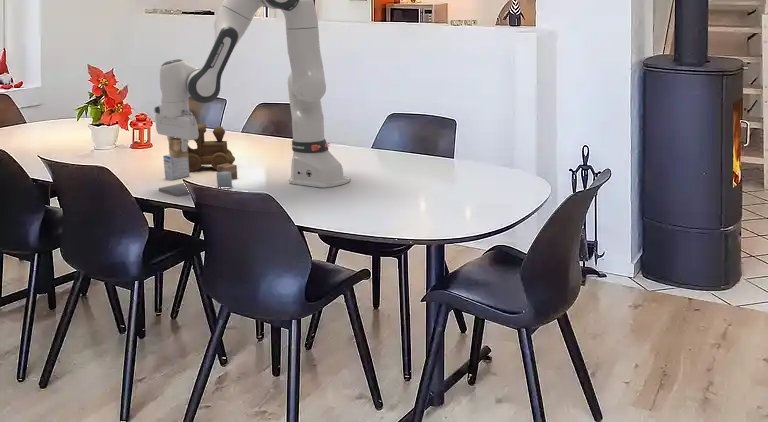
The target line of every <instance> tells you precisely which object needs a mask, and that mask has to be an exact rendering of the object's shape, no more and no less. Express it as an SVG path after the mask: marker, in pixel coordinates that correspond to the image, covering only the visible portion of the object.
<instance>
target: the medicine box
mask: <svg viewBox="0 0 768 422" xmlns="http://www.w3.org/2000/svg"><path fill="white" fill-rule="evenodd" d="M163 168H164V169H163V170H164V178H165V179H166V180H170V181H175V180H178V179H183V178H187V177H190V171H189V161H188V157H182V158H173V157H170V155H169V154H165V155H163Z"/></svg>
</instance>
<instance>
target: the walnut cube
mask: <svg viewBox="0 0 768 422" xmlns="http://www.w3.org/2000/svg"><path fill="white" fill-rule="evenodd" d="M237 166H238V165H237V164H234V163H233V164H229V163H227V164H222V165H217V170H216V174H217V173H218V172H231V177H232V179H233V180H237V179H238V167H237Z"/></svg>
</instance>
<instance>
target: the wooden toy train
mask: <svg viewBox="0 0 768 422" xmlns="http://www.w3.org/2000/svg"><path fill="white" fill-rule="evenodd" d="M197 126H198V133H199V136H198V139H195V140H193V141H194V142H195V144H196V148H192V147H190V146H189V145H188V155H189V156H188V161H189V172H192V173H193V172H198V171H199V170H200V169H201V167H202V166H209V165H210V166H211V167H212V168H213V169H214V170H216V171H217V165H222V164H227V163H229V164H233V165H234V163H235V162H236V157H235V156H234V155H233V153H232V151H231V149H229V148H228V140H223V139H224V137H225V134H226V130H225V129H224V128H223V126H222V125H220V126H218V125H217V126H215V127H214V129H213V131H212V133H213V134H212V135H214V137H215V140H205V133H206V132H207V125H206V124H205V123H197Z"/></svg>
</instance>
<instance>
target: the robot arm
mask: <svg viewBox="0 0 768 422" xmlns="http://www.w3.org/2000/svg"><path fill="white" fill-rule="evenodd" d="M261 7H264V8H267V9H272V10H280V11H281V12H282V13H283V17H284V20H285V32H286V33H285V35H286V46H287V54H288V59H289V63H290V70H291V72H290V74H289V75H288V78H287V89H288V99H289V106H290V107H289V108H290V113H291V114H290V115H291V122H292V123H291V125H292V140H291V150H292V152H293V153H292V154H293V155H292V158H291V167H290V178H289V180H288V183H289V184H293V185H299V186H307V187H315V188H321V189H322V188H323V189H324V188H332V187H333V188H334V187H336V186H337V187H338V186H341V185H345V184H347V183H350V182H351V178H350V177H347V176H344V170H343V169H344V168H343V166H342V163H341V162H340V161H339V160H338V159H337V158H336V157H335V156H334V155H333V154H332V153H331V152H330V151H329V147H331V145H330V144H331V142H328V143H327V140H326V138H325V121H324V119H325V118H324V114H323V113H324V112H323V108H322V102H321V99H322V98H323V97H324V96H325V94H326V90H327V83H326V78H325V71H324V65H323V60H322V55H321V45H320V44H321V43H320V35H319V34H320V33H319V20H318V14H317V9H316V5H315V1H314V0H223V1H222V2H221V5H220V6H219V7H218V8H219V9H218V11H217V13H216V16H215V20H214V22H213V28H214V29H213V30H214V41H213V45H212V47H211V50H210V51H209V54H208V56H207V58H206V60H205V62H204V65H203V66H202V67H201V68H200V67H197V66H195V65H192V64H190V63H188V62H186V61H185V60H183V59H172V60H167V61H165V62H163V63H162V64H161V65H160V67H159V87H160V90H161V99H160V100H161V103H160V104H159V105H157V106H154V107H153V112H154V113H155V116H154V117H155V118H154V119H155V128H156V129H155V130H156V132H157V134H158V135H161V136H166V139H167V140H168V139H172V138H181V142H182V145H181V146H180V151H182V152H186V151H187V145H188V146H189V142H190V141H194V140H195V139H198V136H199V133H198V126H197V124H198V122H197V118H196V117H195V115H194V114H193V112H192V111H190V101H189V98H190V97H191V98H192V100H193V101H195V102H196V103H200V104H208V103H211V102H213V101H215V100H216V99H217V98H218V96H219V95H220V92H221V81H222V75H223V72H224V70H225V69H226V66H227V64H228V62H229V59H230V57H231V55H232V53H233V51H234V49H235V48H236V47H237V45H238V43H239V41H240V40H241V39H242V38H243V36H244V34H246V32H247V30H248V28H249V27H250V25H251V23H252V21H253V19H254V16H255V14H256V13H257V12H258V10H259V9H261Z"/></svg>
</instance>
